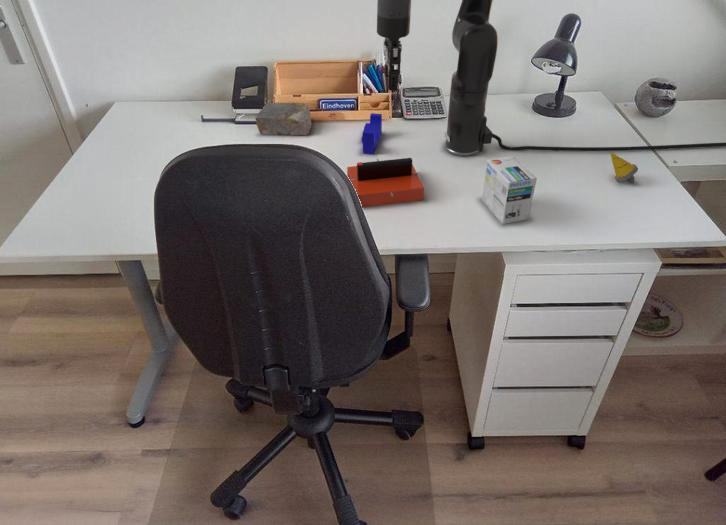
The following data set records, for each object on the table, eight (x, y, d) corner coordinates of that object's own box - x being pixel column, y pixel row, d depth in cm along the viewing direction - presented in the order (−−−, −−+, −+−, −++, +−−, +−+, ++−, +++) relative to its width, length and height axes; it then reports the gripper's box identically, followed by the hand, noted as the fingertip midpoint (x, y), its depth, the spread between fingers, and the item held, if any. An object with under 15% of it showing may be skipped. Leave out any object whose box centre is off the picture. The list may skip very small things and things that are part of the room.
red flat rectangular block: (410, 168, 139) (410, 155, 137) (428, 204, 126) (429, 191, 124) (343, 175, 137) (343, 162, 135) (355, 213, 124) (354, 199, 122)
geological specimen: (262, 102, 160) (312, 100, 158) (265, 121, 164) (314, 120, 162) (253, 116, 151) (306, 115, 150) (257, 137, 155) (308, 136, 154)
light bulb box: (529, 220, 121) (538, 178, 114) (501, 225, 119) (509, 183, 112) (506, 195, 129) (513, 154, 122) (480, 199, 127) (486, 159, 120)
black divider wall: (410, 172, 131) (411, 156, 128) (411, 175, 129) (412, 159, 127) (357, 178, 129) (356, 162, 126) (358, 181, 128) (357, 165, 125)
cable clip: (366, 132, 155) (365, 112, 151) (381, 134, 154) (381, 114, 150) (357, 152, 146) (356, 132, 142) (373, 154, 145) (373, 133, 141)
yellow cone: (629, 192, 130) (605, 160, 128) (620, 189, 135) (596, 158, 133) (648, 177, 129) (624, 145, 127) (638, 174, 134) (614, 143, 132)
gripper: (414, 21, 116) (409, 94, 127) (406, 3, 127) (403, 72, 138) (379, 21, 116) (377, 95, 126) (374, 3, 127) (373, 72, 137)
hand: (390, 83), depth 132 cm, fingers open, 8 cm apart
